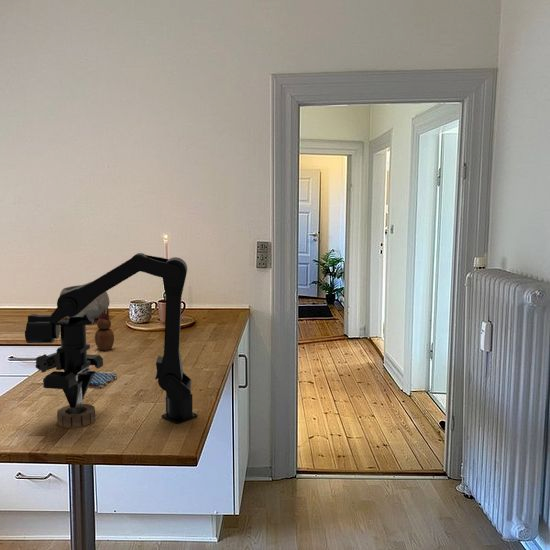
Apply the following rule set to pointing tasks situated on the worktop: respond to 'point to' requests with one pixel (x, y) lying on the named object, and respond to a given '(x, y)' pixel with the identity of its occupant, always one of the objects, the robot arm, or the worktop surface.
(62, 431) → the worktop surface
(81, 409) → the grey cylinder
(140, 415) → the worktop surface
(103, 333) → the wooden figurine
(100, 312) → the clay pot
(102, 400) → the worktop surface
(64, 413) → the walnut gear
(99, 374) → the woven mat
